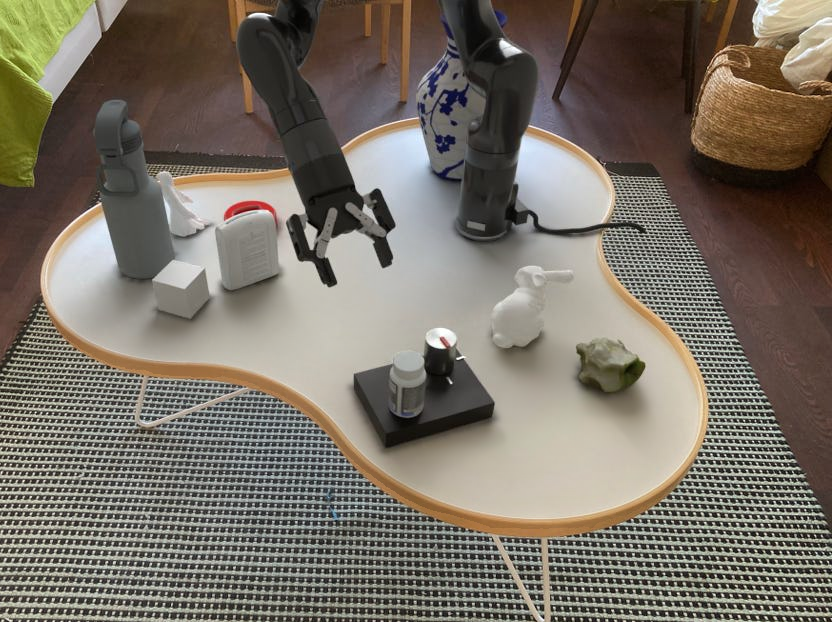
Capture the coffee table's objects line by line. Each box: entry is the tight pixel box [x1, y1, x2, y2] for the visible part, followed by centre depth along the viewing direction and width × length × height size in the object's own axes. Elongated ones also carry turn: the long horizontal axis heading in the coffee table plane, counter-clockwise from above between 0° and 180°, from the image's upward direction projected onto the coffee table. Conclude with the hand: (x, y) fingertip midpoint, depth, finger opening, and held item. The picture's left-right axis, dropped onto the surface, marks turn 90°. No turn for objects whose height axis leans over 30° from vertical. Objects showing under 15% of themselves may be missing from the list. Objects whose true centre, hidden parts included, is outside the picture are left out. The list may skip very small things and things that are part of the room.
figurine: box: [155, 170, 210, 237], centre depth 132 cm, size 8×8×12 cm
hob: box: [353, 348, 496, 449], centre depth 103 cm, size 16×14×3 cm
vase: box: [415, 8, 508, 182], centre depth 142 cm, size 19×19×30 cm
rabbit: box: [491, 265, 575, 349], centre depth 110 cm, size 12×9×12 cm
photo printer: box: [214, 210, 280, 291], centre depth 121 cm, size 10×4×12 cm, turn 123°
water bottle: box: [92, 99, 176, 280], centre depth 118 cm, size 10×10×28 cm
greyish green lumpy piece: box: [575, 337, 646, 393], centre depth 105 cm, size 9×9×8 cm
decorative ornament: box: [223, 200, 278, 232], centre depth 135 cm, size 10×10×3 cm
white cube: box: [151, 259, 211, 320], centre depth 118 cm, size 6×6×6 cm
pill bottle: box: [389, 349, 426, 418], centre depth 96 cm, size 5×5×8 cm
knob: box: [422, 327, 458, 375], centre depth 103 cm, size 4×4×5 cm
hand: (360, 276), depth 99 cm, fingers open, 8 cm apart
